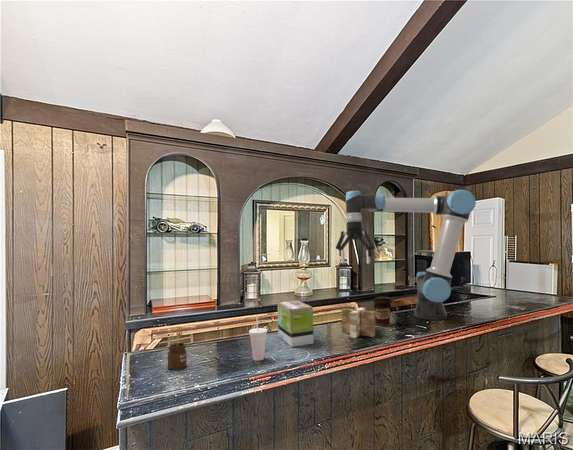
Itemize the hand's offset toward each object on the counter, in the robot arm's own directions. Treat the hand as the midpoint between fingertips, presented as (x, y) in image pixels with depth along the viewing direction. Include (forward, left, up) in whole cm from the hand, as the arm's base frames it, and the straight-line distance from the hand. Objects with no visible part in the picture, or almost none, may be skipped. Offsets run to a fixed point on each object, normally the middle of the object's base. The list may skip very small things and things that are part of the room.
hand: (355, 263), depth 162 cm
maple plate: (-9, +22, -29) cm, 37 cm away
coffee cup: (-14, +3, -29) cm, 32 cm away
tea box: (+10, +43, -29) cm, 53 cm away
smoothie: (+10, +67, -29) cm, 74 cm away
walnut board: (-9, +22, -29) cm, 37 cm away
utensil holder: (+29, +86, -29) cm, 95 cm away
